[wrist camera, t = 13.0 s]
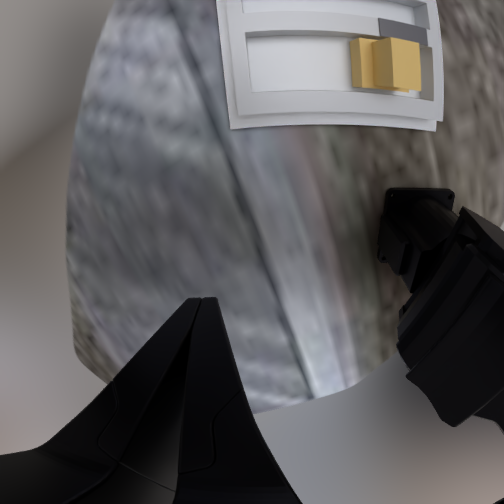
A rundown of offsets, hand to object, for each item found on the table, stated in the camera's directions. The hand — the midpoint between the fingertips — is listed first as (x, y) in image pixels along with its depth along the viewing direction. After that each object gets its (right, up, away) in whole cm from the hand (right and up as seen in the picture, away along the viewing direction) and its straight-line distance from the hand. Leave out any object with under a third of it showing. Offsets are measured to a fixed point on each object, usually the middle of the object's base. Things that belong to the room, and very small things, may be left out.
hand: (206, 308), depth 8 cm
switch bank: (+6, +17, +4) cm, 18 cm away
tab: (+9, +13, +5) cm, 16 cm away
